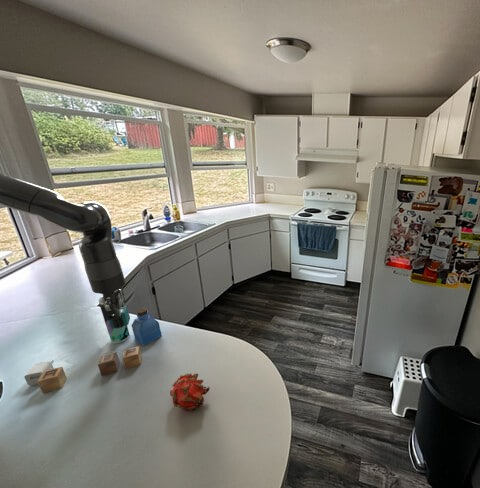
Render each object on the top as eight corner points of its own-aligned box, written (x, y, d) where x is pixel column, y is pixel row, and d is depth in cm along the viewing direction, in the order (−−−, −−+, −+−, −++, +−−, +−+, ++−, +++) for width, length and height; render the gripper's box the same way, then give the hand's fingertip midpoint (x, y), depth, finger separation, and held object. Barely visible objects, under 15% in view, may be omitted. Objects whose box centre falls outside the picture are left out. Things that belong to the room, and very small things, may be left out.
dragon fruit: (182, 391, 75) (205, 418, 69) (155, 397, 68) (177, 428, 62) (197, 364, 76) (220, 389, 70) (172, 367, 69) (196, 395, 63)
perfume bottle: (161, 335, 95) (155, 309, 91) (143, 345, 90) (136, 317, 86) (153, 329, 98) (146, 303, 94) (135, 339, 93) (127, 311, 89)
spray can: (107, 341, 91) (91, 294, 84) (122, 332, 96) (108, 286, 89) (119, 344, 90) (104, 296, 83) (133, 334, 95) (120, 288, 88)
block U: (101, 376, 77) (97, 364, 76) (104, 367, 80) (100, 355, 79) (117, 371, 79) (114, 360, 78) (120, 362, 82) (116, 351, 81)
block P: (125, 369, 80) (122, 357, 78) (127, 360, 83) (124, 349, 82) (140, 364, 82) (137, 353, 80) (142, 356, 85) (139, 345, 84)
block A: (42, 393, 71) (37, 381, 70) (48, 382, 74) (43, 371, 73) (61, 387, 73) (56, 376, 71) (66, 377, 76) (62, 366, 75)
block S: (111, 329, 74) (107, 316, 73) (114, 321, 78) (110, 309, 76) (128, 325, 76) (124, 312, 75) (130, 317, 80) (126, 305, 78)
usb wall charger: (28, 385, 73) (23, 375, 72) (42, 368, 79) (38, 358, 78) (46, 381, 75) (41, 371, 73) (59, 364, 81) (55, 355, 79)
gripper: (95, 266, 75) (110, 313, 81) (79, 287, 63) (99, 341, 69) (125, 261, 79) (139, 307, 84) (116, 280, 67) (132, 332, 73)
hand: (121, 322), depth 77 cm, fingers closed on block S, 4 cm apart
